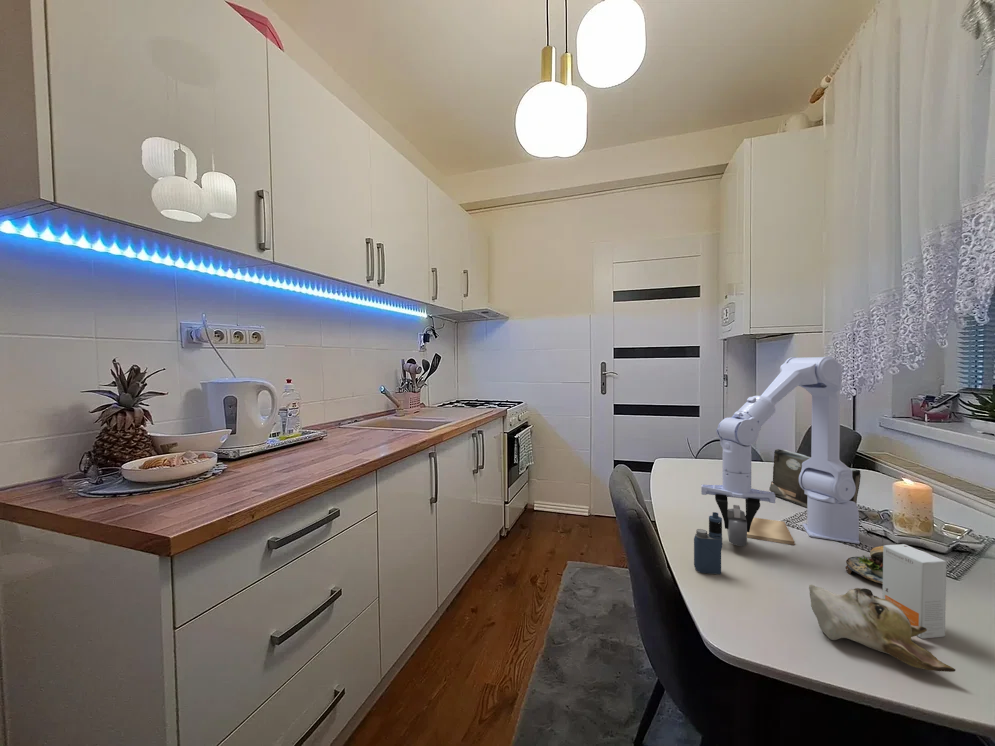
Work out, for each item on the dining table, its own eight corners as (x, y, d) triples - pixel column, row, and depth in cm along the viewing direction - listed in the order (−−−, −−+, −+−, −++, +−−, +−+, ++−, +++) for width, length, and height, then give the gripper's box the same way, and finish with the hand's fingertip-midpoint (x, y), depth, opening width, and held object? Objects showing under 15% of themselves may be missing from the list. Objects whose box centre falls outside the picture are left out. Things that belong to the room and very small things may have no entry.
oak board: (784, 524, 104) (784, 521, 104) (794, 545, 93) (794, 541, 93) (731, 517, 110) (731, 514, 110) (734, 535, 98) (734, 532, 98)
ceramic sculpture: (804, 560, 68) (928, 589, 61) (800, 609, 69) (922, 644, 61) (815, 591, 59) (962, 631, 52) (811, 648, 60) (955, 695, 52)
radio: (867, 520, 107) (868, 464, 107) (840, 522, 106) (840, 466, 105) (790, 492, 130) (790, 447, 130) (767, 494, 129) (767, 448, 128)
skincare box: (880, 615, 67) (881, 544, 67) (903, 613, 68) (904, 543, 67) (922, 640, 61) (922, 562, 61) (947, 638, 61) (948, 560, 61)
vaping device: (724, 575, 80) (724, 515, 80) (696, 572, 81) (696, 514, 81) (719, 568, 83) (720, 511, 82) (692, 566, 84) (692, 509, 83)
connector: (743, 530, 96) (743, 501, 96) (747, 547, 88) (747, 515, 87) (726, 528, 98) (726, 499, 97) (729, 544, 89) (729, 512, 89)
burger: (838, 576, 80) (838, 539, 80) (853, 558, 87) (853, 524, 87) (926, 605, 70) (926, 562, 70) (934, 582, 77) (935, 543, 77)
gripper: (701, 471, 92) (701, 529, 92) (777, 478, 85) (777, 541, 86) (701, 464, 98) (701, 518, 99) (772, 470, 92) (772, 529, 92)
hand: (736, 528), depth 92 cm, fingers closed on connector, 3 cm apart
